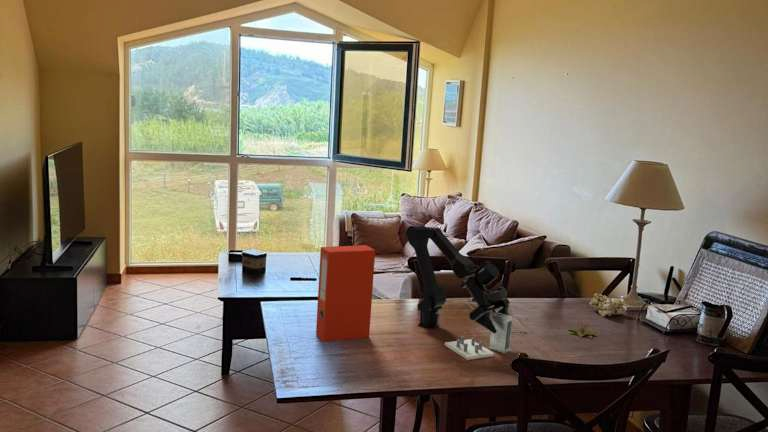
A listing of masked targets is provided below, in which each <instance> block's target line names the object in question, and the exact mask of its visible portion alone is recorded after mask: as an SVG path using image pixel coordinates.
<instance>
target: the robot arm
mask: <svg viewBox="0 0 768 432" xmlns="http://www.w3.org/2000/svg"><path fill="white" fill-rule="evenodd" d="M405 236H406V239H407V242H408V243H409V245H410V246H411V248H412V249H414V252H415V256H416V259H417V264H418V268H419V270H420V275H421V278H422V283H423V292H422V299H423V300H421V301H420V302H419V303H417V309H418V311H420V316H419V323H418V324H417V326H419V327H422V328H423V327H424V328H428V329H433V330H434V329H435V328H436V327H438V326H439V325H440V316H441V315H440V313H439V312H440V311H439V310H442V309H443V306H444V305H445V303H446V301H447V294H446V291H445V286H443V285H440V284H439V283H438V282H437V277H436V274H435V271H434V266H433V264H432V259H431V255H430V253H429V248H428V244H429V239H430V240H431V241H432V242H433V244H434V245H435V246H436V247H437V248H438V249H439V250H440V252H441V253H442V254H443V255H444V257H445V258H446V259H447V260H448V262H449V265H450V268H451V271H452V272H453V274H454V276H455V277H456V278H458V279H463V280H461V284H460V289H465V288H466V289H467V291H468V292H469V293H470V295H471V297H472V299H471V301H472V303H476V305H477V307H475V308H474V309H473V310H471V311H470V312H469V314H468V317H469V319H470V321H471V322H473V321H474V323H477V324H479V325H481V326H482V327H484V328H485V329H487V330H489V332H490V333H491V332H493V333H496V332H497V331H496V329H495V327H494V325H493V323H492V319H491V312H492V313H493V314H495V313H502V314H505V315H508V316H509V314H508V309H509V308H510V304H511V302H510V300H509V299H508V297H507V295H508V291H507V289H506V288H505V287H504V286H501V287H498V288H497V290H496V291H492V290H491V289H487V288H486V286H489V285H490V284H491V283H493V281H495V280H496V279H497V278H499V277H500V274H501V273H500V271H499V269H498V267H496V266H495V265H494V264H493V263H491V262H490V261H484V262H483V263H482V264H481V266H479V265H477V264H475V262H473V261H472V260H471V259H470V258H468V257H467V256H465V255H464V254H462V253H461V252H459V250H458V249H457V248H456V247H455V246H454V244H453V243H452V242H451V241H450V240H449V239H448V237H447V236H446V235H445V234H444V232H443V231H442V229H441V228H440V227H437V226H435V227H432V226H425V225H424V224H418V225H417V224H416V225H410V226H408V227H407V228H406V230H405ZM464 278H467V279H464Z"/></svg>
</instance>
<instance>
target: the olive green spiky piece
mask: <svg viewBox="0 0 768 432" xmlns="http://www.w3.org/2000/svg"><path fill="white" fill-rule="evenodd" d="M579 324H580V326H579V325H577V327H573V328H569V331H570V332H569V334H570V335H571V334H572V335H578V336H579V338H581V337H583V336H584V337H587V338H590V339H593V336H596V337H598V335H597V334H596V333H597V331H593V330H589V327H588V326H589V325H590V324H589V322H588V323H587V324H584V325H583V324H582V322H579Z"/></svg>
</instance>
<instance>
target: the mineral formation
mask: <svg viewBox="0 0 768 432" xmlns="http://www.w3.org/2000/svg"><path fill="white" fill-rule="evenodd" d="M625 302H626V301H624V300H621V299H619V298H615V299H614V300H612V299H611V298H608V296H606V295H603V294H598V293H594V294H593V298H592V299H591V301H590V302H589V306H590V307H594V308H595V309H596V310H597V311H598V313H599V315H600V316H601V317H603V318H604V317H606V316H608V317H611V316H612V315H615V316H616V315H620V314H622V313H623V312H627V308H624V307H623V306H624V305H625Z"/></svg>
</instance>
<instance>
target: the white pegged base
mask: <svg viewBox="0 0 768 432" xmlns="http://www.w3.org/2000/svg"><path fill="white" fill-rule="evenodd" d="M444 346H446V348H449V350H451V351H453V352H454V353H456V354H457V355H458V356H461V357H462V358H463V359H465V360H467V361H468V360H469V361H470V360H475V359H482V358H490V357H491V358H492V357H494V356H495V352H493V351H491V350H489V349H488V348H486V346H485V347H484V346H483V341H479V342H476V337H473V336H472V337H471V338H470V339H469V338H468V339H465V336H463V335H461V336H460V338H456V340H455V341H447V342H444Z"/></svg>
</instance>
